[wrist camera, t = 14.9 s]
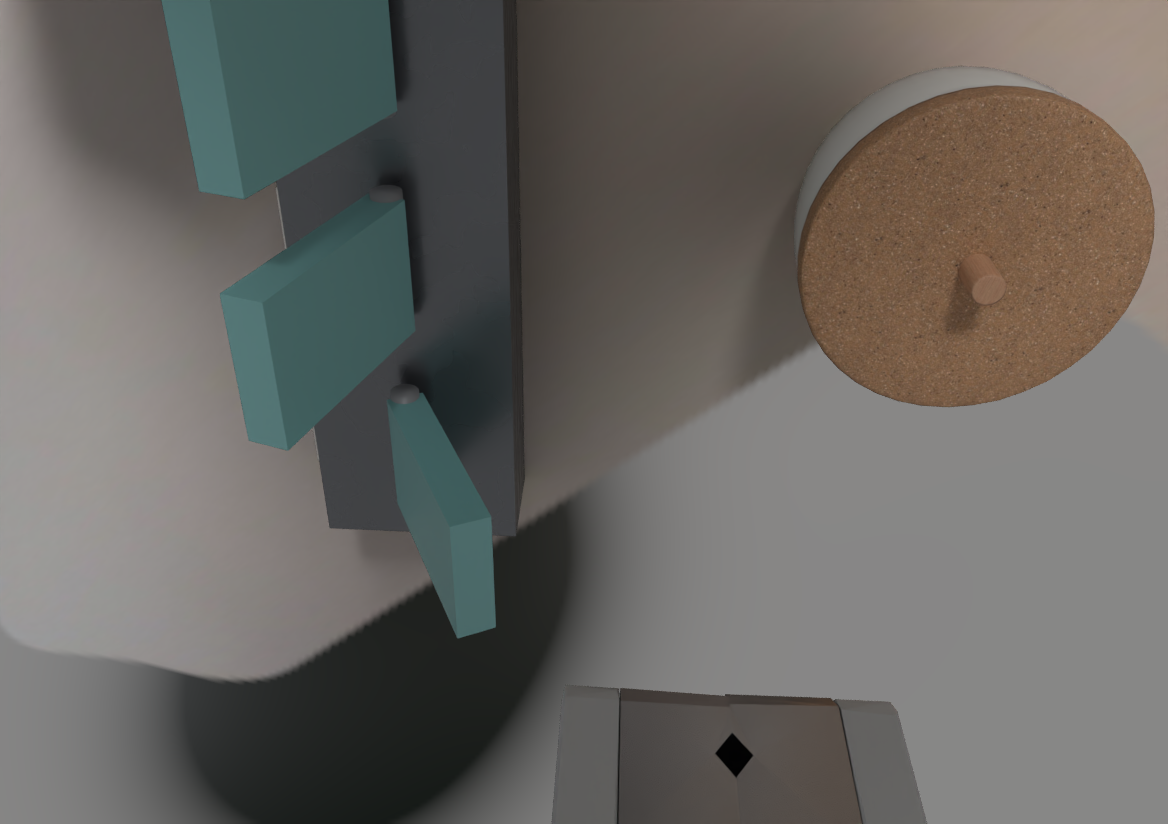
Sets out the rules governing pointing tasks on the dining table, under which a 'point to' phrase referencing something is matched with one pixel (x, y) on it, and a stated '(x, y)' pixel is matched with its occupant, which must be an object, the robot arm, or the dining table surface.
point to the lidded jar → (968, 236)
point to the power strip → (435, 259)
